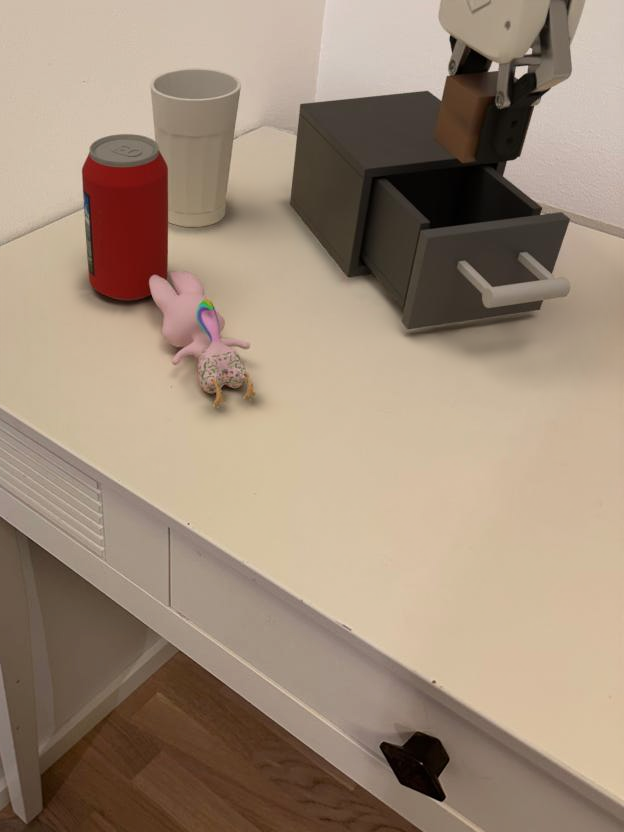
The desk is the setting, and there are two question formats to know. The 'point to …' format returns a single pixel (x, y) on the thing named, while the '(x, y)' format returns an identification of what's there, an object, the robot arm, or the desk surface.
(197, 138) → the cup
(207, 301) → the rabbit figure
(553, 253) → the drawer
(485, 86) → the block
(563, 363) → the desk surface
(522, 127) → the robot arm
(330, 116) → the cabinet
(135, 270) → the beverage can
